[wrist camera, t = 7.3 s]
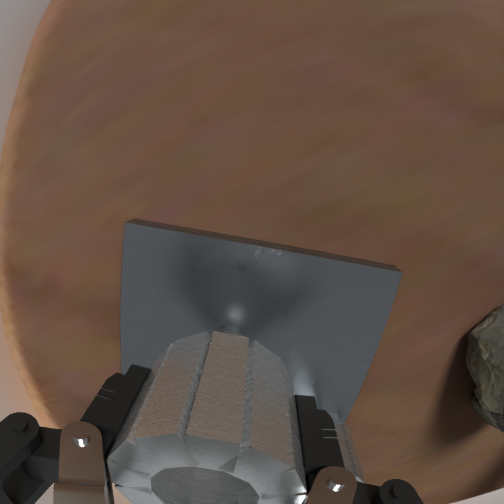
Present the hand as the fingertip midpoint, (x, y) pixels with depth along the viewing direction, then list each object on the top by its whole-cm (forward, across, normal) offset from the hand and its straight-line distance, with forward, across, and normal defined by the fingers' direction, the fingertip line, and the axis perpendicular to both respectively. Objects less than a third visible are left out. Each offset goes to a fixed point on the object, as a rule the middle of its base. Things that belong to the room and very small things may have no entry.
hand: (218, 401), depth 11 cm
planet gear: (0, 0, 0) cm, 0 cm away
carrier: (+6, -1, +3) cm, 7 cm away
